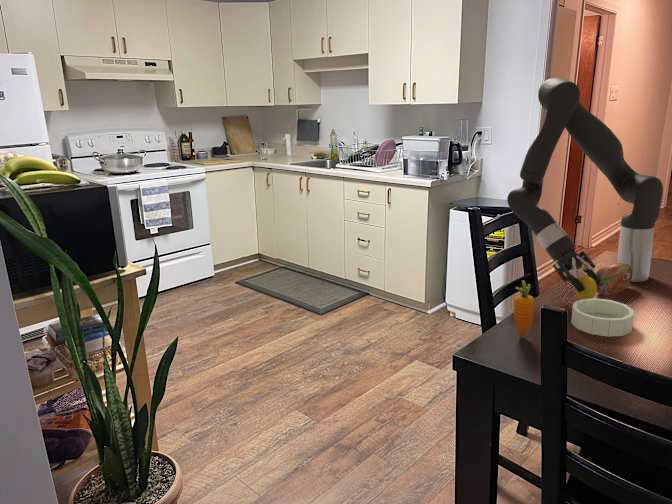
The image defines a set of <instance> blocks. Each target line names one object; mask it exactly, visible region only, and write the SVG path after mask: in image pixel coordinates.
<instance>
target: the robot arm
mask: <svg viewBox="0 0 672 504" xmlns="http://www.w3.org/2000/svg"><path fill="white" fill-rule="evenodd" d="M537 93H538V95H537V98H538V102H539V104H540V105H541V107H542V108H543V109H545V110H546V114H545V118H544V121H543V124H542V127H541V129H540V131H539V132H538V135H537V136H536V137H535V139H534V140H533V141H532V143H531V145H530V146H529V148H528V150H527V152H526V155H525V157H524V160H523V163H522V166H521V168H520V172H519V177H520V179H521V180H522V185H521V188H520V187H519V188H515V189H513V190H511V191H510V192H509V193H508V195H507V197H506V201H507V204H508V208H509V209H510V210H511V211H512V213H513V214H514V215H516V216H517V218H519V219H520V220H521V221H522V222H524V223H525V224H526V226H528V227H529V228H530V230H531V231H532V233H533V234H534V235H535V236H536V238H537V241H539V243H540V244H541V246H542V248H543V249H544V250H545V251H546V253H547V254H548V255H549V257H550V258H551V260H552V262H553V261H554V263H553V264H552V267H553V268H554V270H555V271H556V273H557V274H558V276H560V278H561V280H562V281H563V282H564V283H565V282H568V283H571V285H572V286H573V288H574V290H575V289H576V290H577V291H578V292H582V291H583V290H585V287H584V285H583V284H582V283H581V281H580V280H579V279H580V278H579V277H578V276H577V272H582V273H583V274H585V275H587V276H589V277H591V278H593V279H594V280H595V282H596V285H597V284H598V283H600V282H601V281H600V279H599V278H598V276H597V275H596V272H595V268H596V265H595V263H594V262H593V261H592V260H591V258H590V257H589V256H588V255H587V254H586V252H584V251H581V252H579V253H577V252H576V248H577V245H576V244H575V243H574V241H572V239H571V238H570V237H569V235H568V233H566V231H565V229H563V228H562V226H561V225H559V224H558V223H557V221H556V219H554V217H553V216H552V215H551V213H550V212H549V211H547V210H546V209H543V208H540V207H538V204H539V202H540V201H541V197H542V193H543V185H544V178H545V175H546V173H547V169H548V168H549V165H550V162H551V159H552V157H553V153H554V152H555V149H556V146H557V145H558V143H559V140H560V138H561V136H562V135H563V132H564V131H565V130H566V131H567V132H568V135H570V137H571V138H572V139H573V141H574V142H575V143H576V144H577V146H578V147H579V149H581V151H582V152H583V153H584V155H585V156H586V157H587V158H588V159H589V160H590V161H591V162H592V163H593V164H594V165H595V167H597V168H598V170H599V171H600V172H601V173H602V174H603V175H604V177H606V178H607V180H608V181H609V182H610V184H611V185H612V187H613V189H614V190H615V192H616V193H617V195H618V196H619V197H620V198H621V200H623V201H624V202H627V203H629V204H632V205H633V206H632V211H631V213H629V214H624V215H623V216H622V217H621V219H620V220H621V221H620V230H619V239H618V240H619V241H618V249H617V259H616V263H623V264H628V265H629V266H630V267H631V269H632V278H631V282H633V283H634V282H636V283H637V282H638V283H641V282H645V281H648V279H649V277H650V270H651V261H652V255H653V254H652V253H653V249H652V248H653V243H654V235H655V227H656V226H655V225H656V222H657V220H658V218H659V215H660V212H661V205H662V200H663V194H664V186H663V182H662V181H661V179H660V178H658V177H656V176H654V175H653V176H651V175H645V174H640V173H638V172H636V171H635V170H634V169H633V168H632V167H631V166H630V165H629V164H628V163H627V162H626V160H625V157H624V147H623V144H622V142H621V141H620V139H619V138H618V137H617V136H616V134H615V133H614V132H613V131H612V130H611V129H610V127H608V125H607V124H605V123H604V122H603V121H602V120H601V119H599V118H598V117H597V116H595V115H594V114H593V113H591V112H590V111H588V109H587V108H585V107H584V106H583V105H582V103H581V102H580V99H581V90H580V88H579V86H578V85H577V84H576V83H574V82H573V81H572V80H567V79H565V78H562V77H552V78H548V79H546V80H544V81H543V83H542V84H541V85H540V86H539V90H538V92H537ZM576 290H575V291H576Z"/></svg>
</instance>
